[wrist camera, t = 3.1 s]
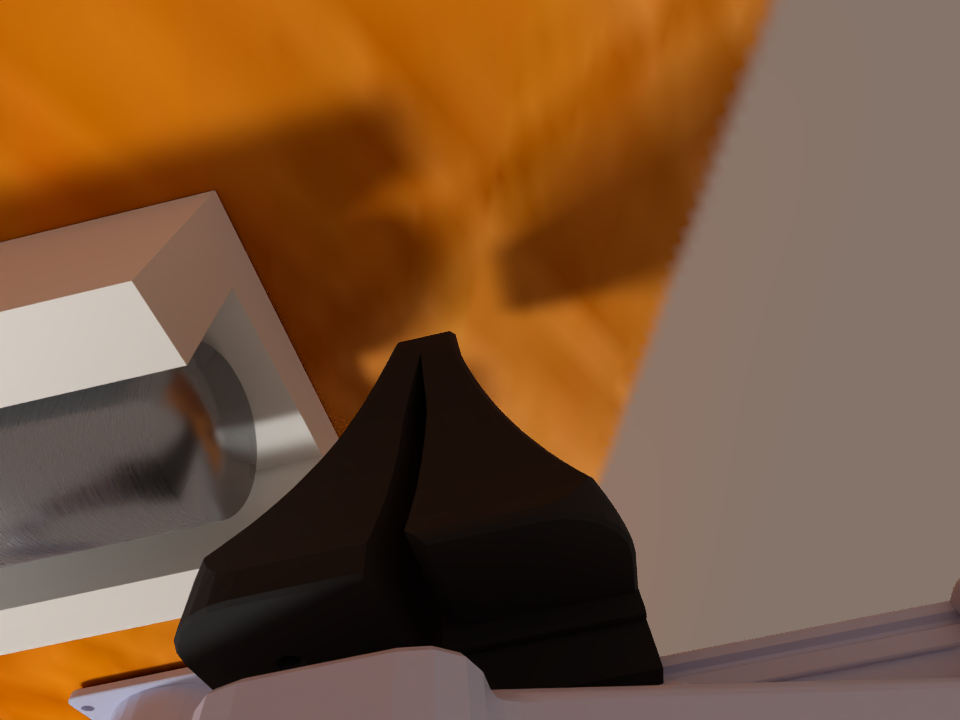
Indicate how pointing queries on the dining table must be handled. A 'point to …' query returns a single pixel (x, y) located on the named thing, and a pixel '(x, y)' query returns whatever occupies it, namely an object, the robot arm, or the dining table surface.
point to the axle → (125, 460)
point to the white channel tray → (136, 352)
